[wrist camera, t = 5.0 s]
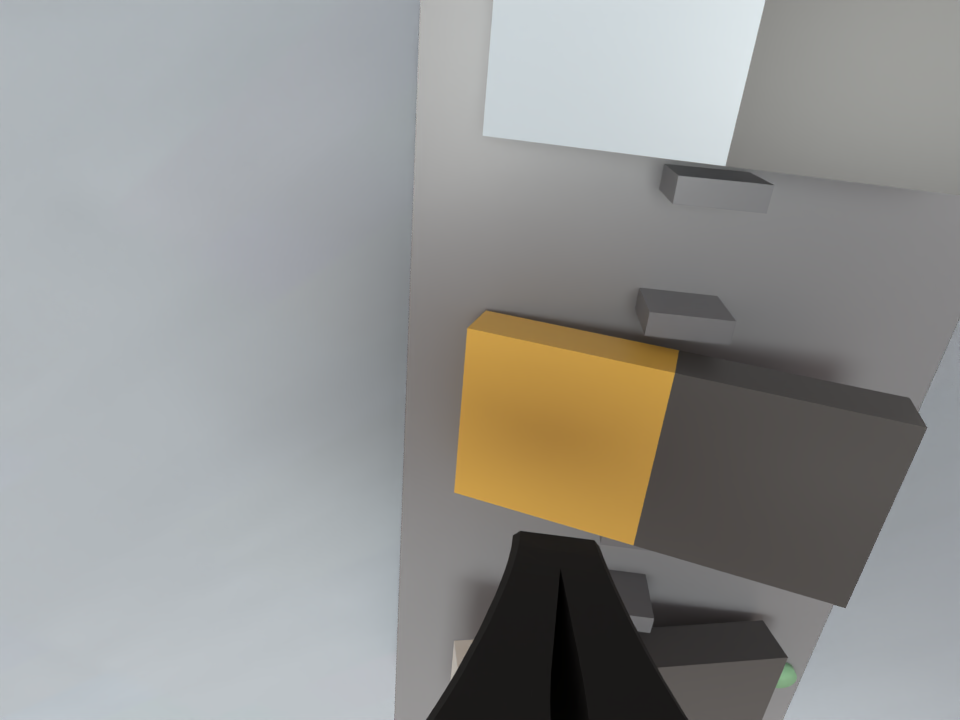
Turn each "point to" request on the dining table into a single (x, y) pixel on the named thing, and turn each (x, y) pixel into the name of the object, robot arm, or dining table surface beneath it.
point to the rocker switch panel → (632, 327)
